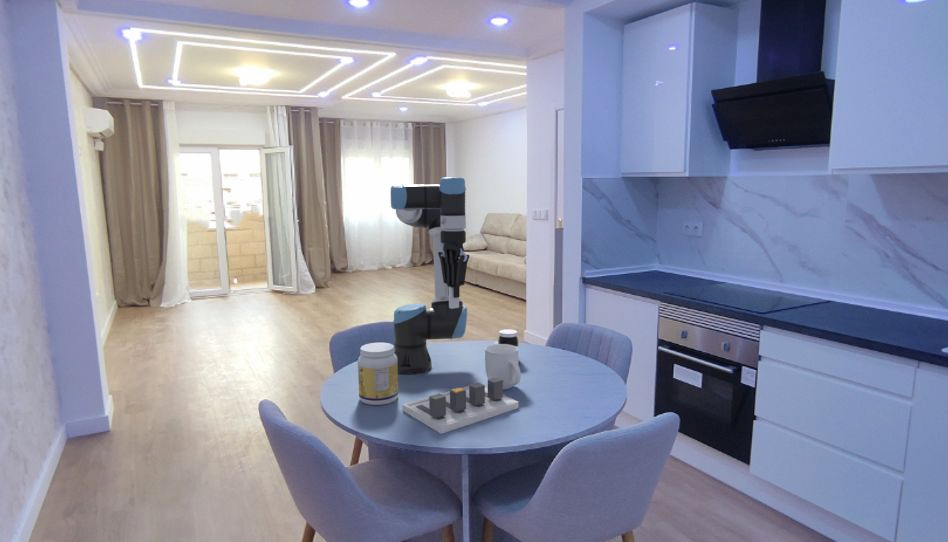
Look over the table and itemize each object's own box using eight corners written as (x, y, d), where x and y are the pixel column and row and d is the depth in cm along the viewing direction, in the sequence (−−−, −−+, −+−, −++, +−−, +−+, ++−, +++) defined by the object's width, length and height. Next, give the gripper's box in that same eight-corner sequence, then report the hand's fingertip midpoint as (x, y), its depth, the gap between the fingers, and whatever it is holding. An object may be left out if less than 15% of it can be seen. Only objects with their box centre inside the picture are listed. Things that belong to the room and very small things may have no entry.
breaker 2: (450, 408, 158) (449, 389, 157) (459, 405, 160) (459, 386, 159) (456, 412, 155) (456, 392, 155) (466, 409, 158) (465, 389, 157)
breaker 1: (429, 415, 154) (429, 396, 153) (439, 411, 156) (439, 393, 155) (435, 418, 151) (435, 399, 150) (446, 415, 153) (445, 396, 153)
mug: (532, 391, 178) (532, 352, 176) (505, 398, 172) (505, 358, 170) (505, 378, 190) (505, 342, 188) (478, 384, 184) (478, 347, 182)
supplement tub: (355, 395, 176) (353, 344, 173) (392, 389, 180) (391, 339, 178) (363, 409, 165) (361, 354, 162) (403, 402, 169) (401, 349, 167)
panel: (403, 410, 163) (402, 403, 163) (477, 389, 180) (477, 383, 180) (441, 433, 147) (441, 426, 147) (518, 408, 164) (518, 401, 164)
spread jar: (519, 365, 204) (519, 335, 203) (488, 365, 205) (488, 335, 203) (517, 355, 216) (517, 327, 215) (488, 355, 216) (488, 327, 215)
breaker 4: (487, 397, 166) (487, 379, 166) (496, 394, 168) (496, 377, 168) (494, 400, 164) (494, 382, 163) (502, 397, 166) (502, 380, 165)
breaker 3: (469, 402, 162) (469, 385, 161) (478, 400, 164) (478, 382, 163) (475, 406, 160) (475, 387, 159) (484, 403, 162) (484, 385, 161)
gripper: (430, 229, 166) (431, 305, 169) (455, 231, 156) (456, 313, 159) (450, 228, 171) (451, 302, 174) (476, 230, 160) (477, 309, 164)
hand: (454, 307), depth 167 cm, fingers closed
